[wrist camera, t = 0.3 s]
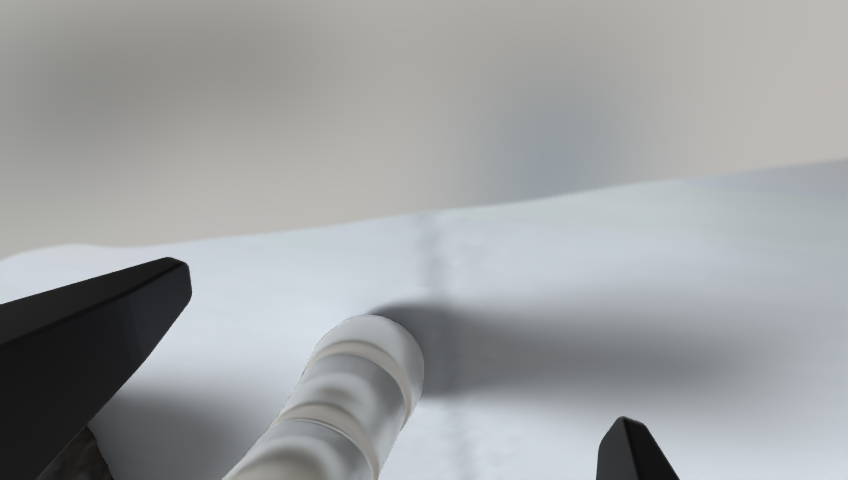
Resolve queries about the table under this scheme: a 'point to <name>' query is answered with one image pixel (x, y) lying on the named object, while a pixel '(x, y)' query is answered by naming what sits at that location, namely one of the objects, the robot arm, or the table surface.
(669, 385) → the table surface
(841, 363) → the table surface
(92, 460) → the brown rock
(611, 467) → the robot arm
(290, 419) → the plastic bottle
